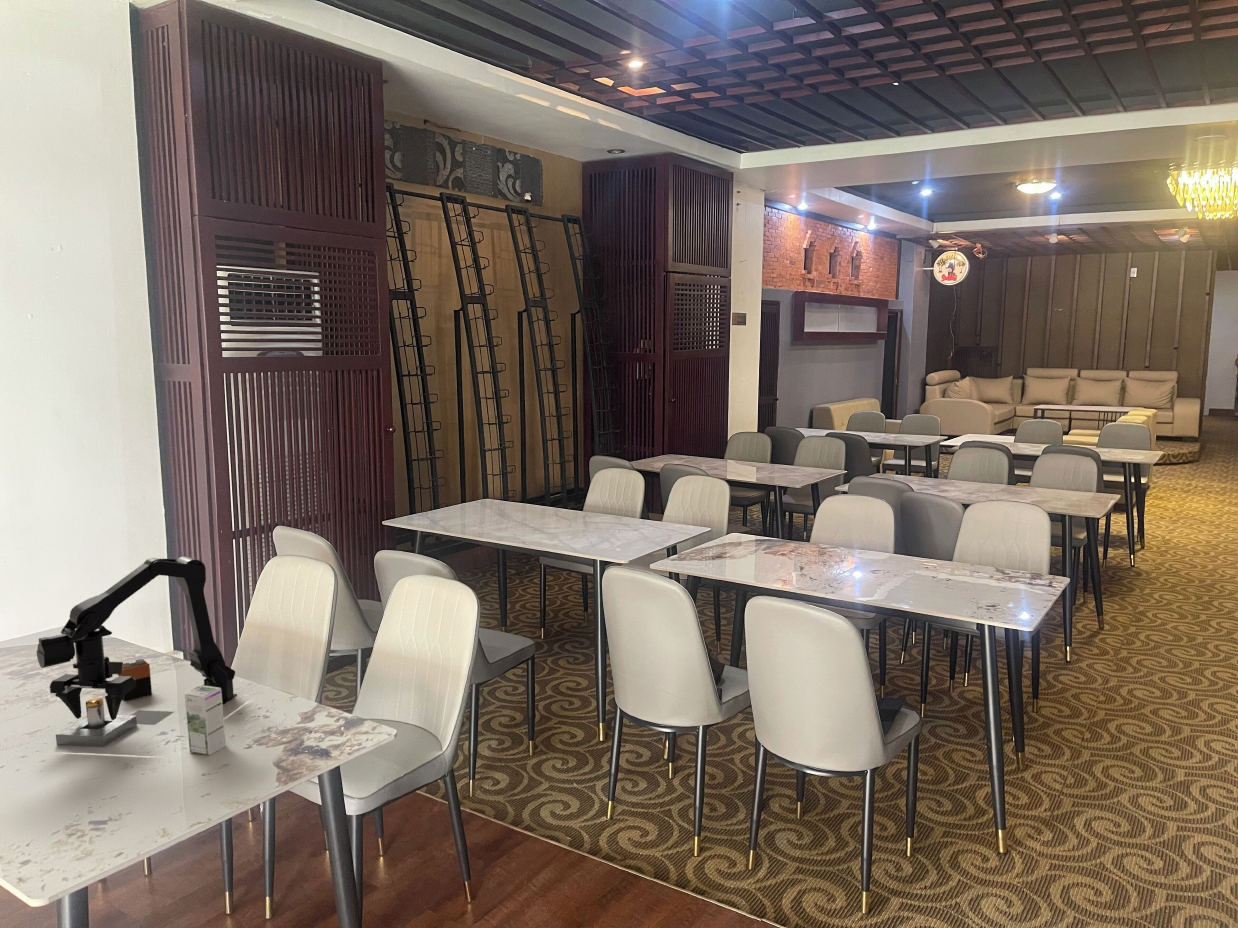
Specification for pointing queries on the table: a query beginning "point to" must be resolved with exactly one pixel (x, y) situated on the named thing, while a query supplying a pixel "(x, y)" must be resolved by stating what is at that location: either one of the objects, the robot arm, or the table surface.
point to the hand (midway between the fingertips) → (96, 718)
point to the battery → (138, 679)
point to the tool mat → (150, 716)
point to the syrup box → (205, 720)
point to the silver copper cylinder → (95, 713)
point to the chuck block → (96, 732)
